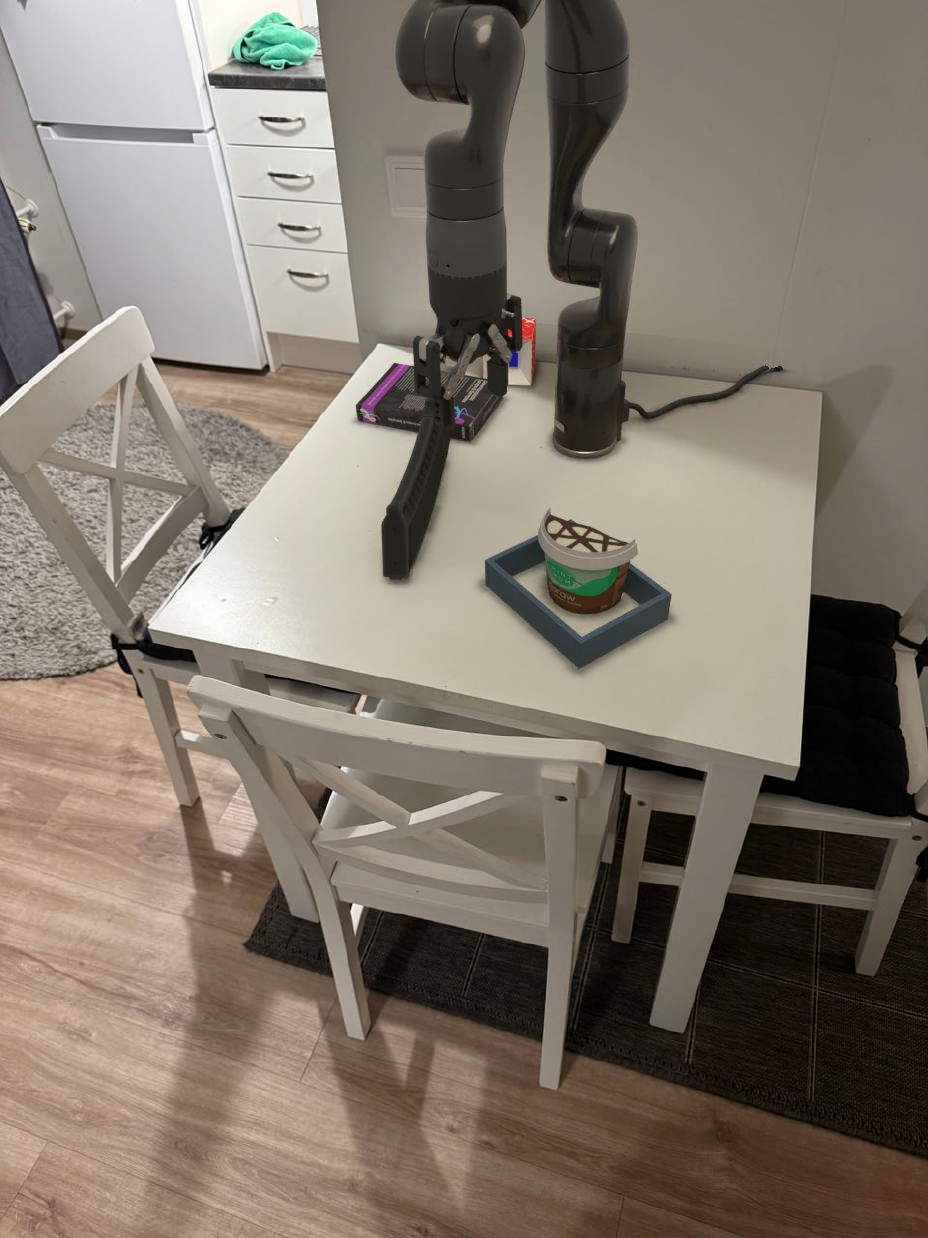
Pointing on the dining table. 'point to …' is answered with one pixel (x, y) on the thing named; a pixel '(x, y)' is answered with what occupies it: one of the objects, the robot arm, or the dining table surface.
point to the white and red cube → (521, 356)
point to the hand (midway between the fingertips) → (472, 409)
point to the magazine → (414, 498)
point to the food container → (583, 565)
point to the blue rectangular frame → (556, 629)
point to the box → (404, 408)
